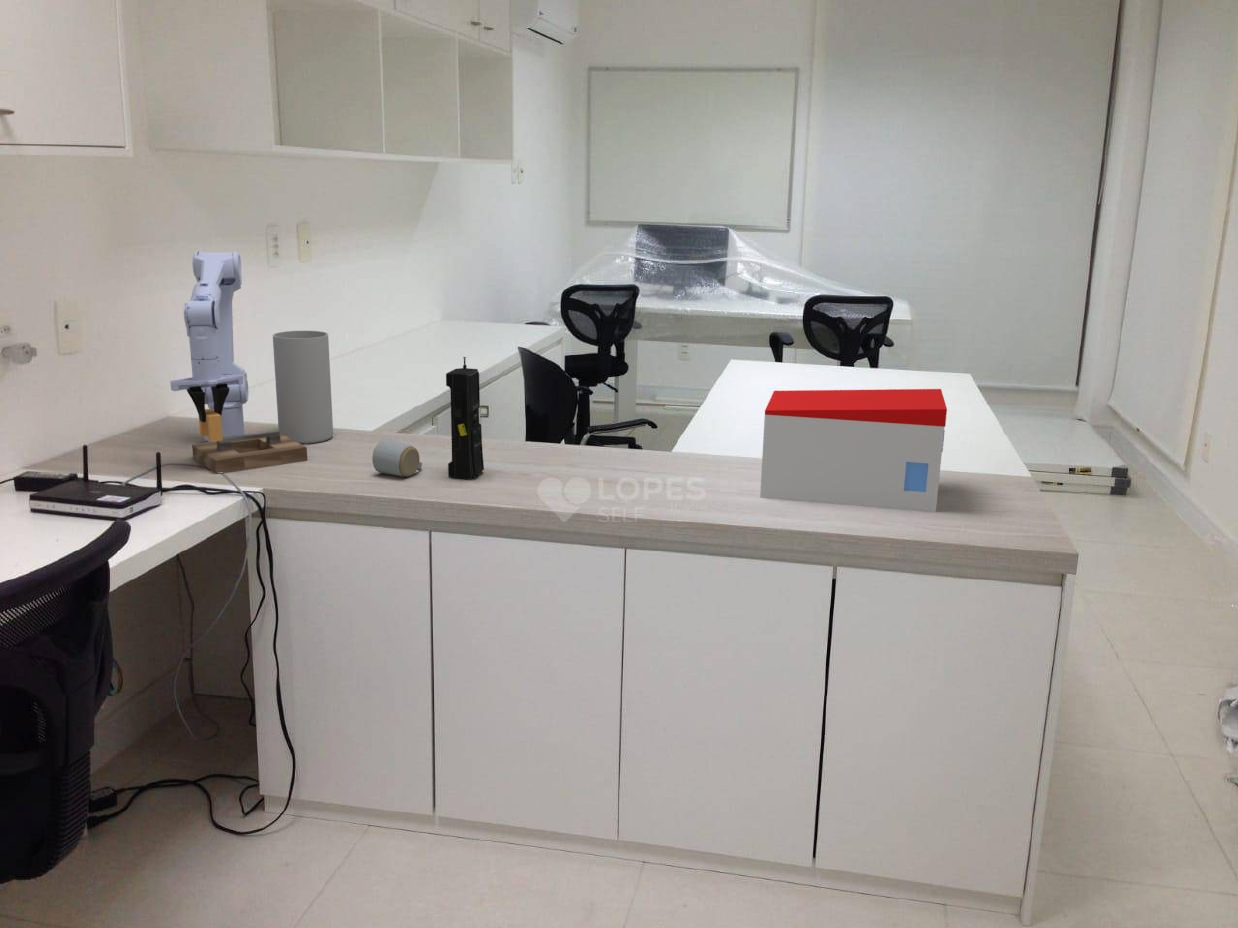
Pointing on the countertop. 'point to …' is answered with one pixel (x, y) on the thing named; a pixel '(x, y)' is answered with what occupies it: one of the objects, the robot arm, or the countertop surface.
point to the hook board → (249, 452)
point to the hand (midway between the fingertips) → (210, 420)
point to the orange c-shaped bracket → (211, 426)
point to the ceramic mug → (395, 458)
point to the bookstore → (854, 447)
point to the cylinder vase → (303, 385)
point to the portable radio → (465, 423)
